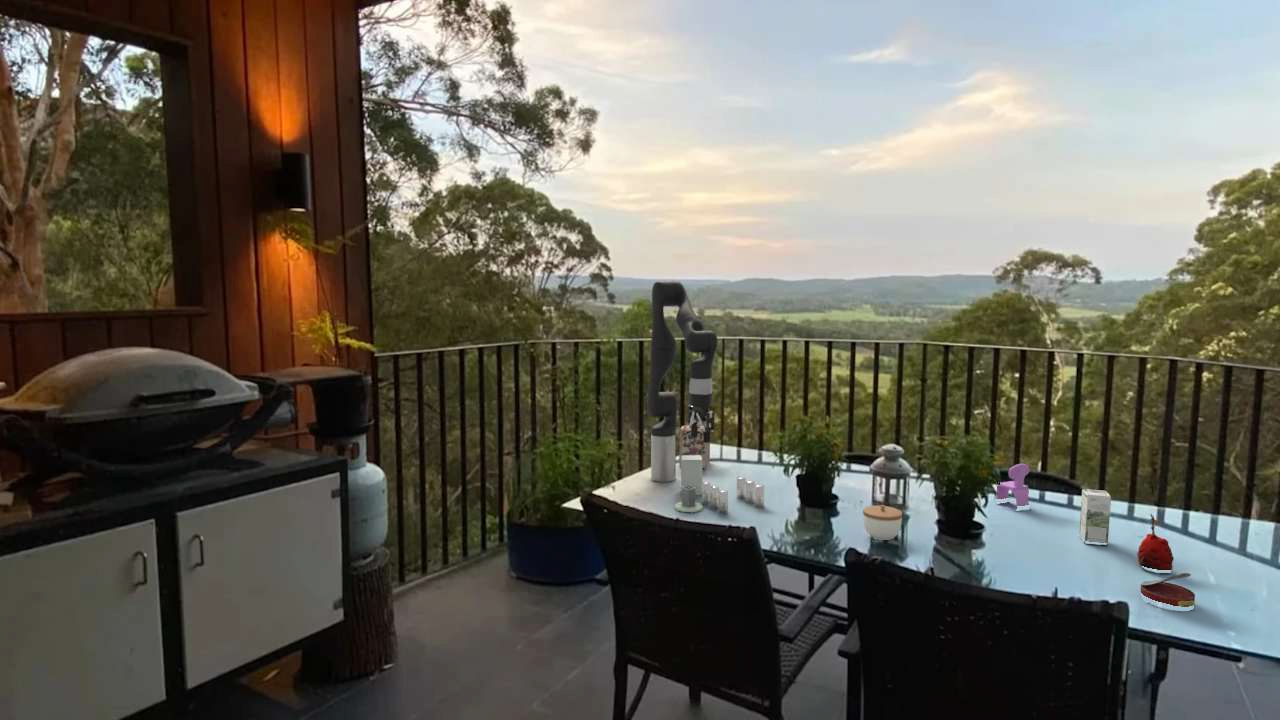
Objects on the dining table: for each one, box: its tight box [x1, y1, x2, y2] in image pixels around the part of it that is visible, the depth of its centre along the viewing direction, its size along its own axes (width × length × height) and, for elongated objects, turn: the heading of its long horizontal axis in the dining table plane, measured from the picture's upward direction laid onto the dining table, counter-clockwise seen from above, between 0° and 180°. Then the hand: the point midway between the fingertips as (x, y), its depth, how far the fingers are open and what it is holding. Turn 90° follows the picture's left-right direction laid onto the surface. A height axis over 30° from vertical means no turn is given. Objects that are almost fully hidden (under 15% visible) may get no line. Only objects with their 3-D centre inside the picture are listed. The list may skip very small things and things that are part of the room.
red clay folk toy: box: [1137, 513, 1174, 571], centre depth 176 cm, size 8×7×15 cm
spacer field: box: [700, 476, 765, 515], centre depth 233 cm, size 14×17×7 cm
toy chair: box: [996, 463, 1030, 507], centre depth 228 cm, size 8×9×15 cm
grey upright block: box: [681, 485, 696, 508], centre depth 229 cm, size 4×5×6 cm
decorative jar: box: [678, 423, 711, 470], centre depth 286 cm, size 12×12×18 cm
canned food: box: [1140, 572, 1196, 607], centre depth 158 cm, size 11×10×10 cm
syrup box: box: [1078, 488, 1112, 544], centre depth 196 cm, size 6×6×14 cm
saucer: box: [674, 501, 703, 514], centre depth 230 cm, size 9×9×1 cm
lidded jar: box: [862, 504, 903, 541], centre depth 201 cm, size 11×11×9 cm
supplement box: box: [680, 455, 703, 496], centre depth 248 cm, size 7×7×13 cm
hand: (700, 439), depth 232 cm, fingers open, 8 cm apart
